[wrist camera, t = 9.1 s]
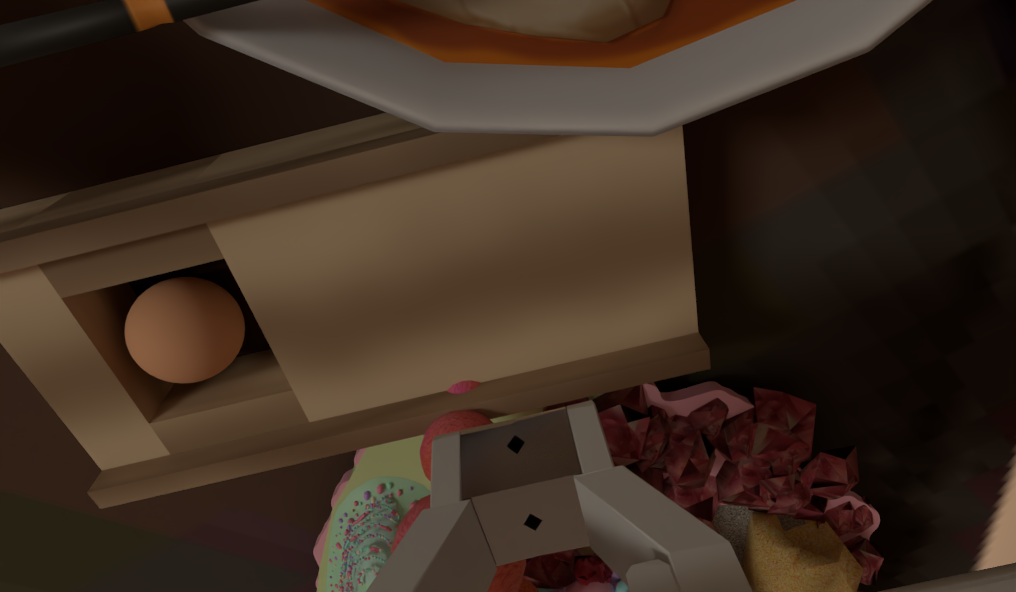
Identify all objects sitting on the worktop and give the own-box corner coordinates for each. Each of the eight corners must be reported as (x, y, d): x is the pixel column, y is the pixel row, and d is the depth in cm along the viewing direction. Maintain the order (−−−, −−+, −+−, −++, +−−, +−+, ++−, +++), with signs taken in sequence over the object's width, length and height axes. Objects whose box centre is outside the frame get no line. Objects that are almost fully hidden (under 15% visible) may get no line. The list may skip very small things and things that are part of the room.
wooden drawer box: (-3, 210, 19) (-101, 267, 16) (645, 47, 19) (690, 70, 15) (150, 428, 24) (100, 508, 21) (671, 305, 23) (710, 368, 20)
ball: (153, 260, 21) (75, 320, 18) (239, 253, 20) (172, 315, 17) (198, 340, 23) (134, 405, 20) (279, 337, 22) (224, 406, 19)
